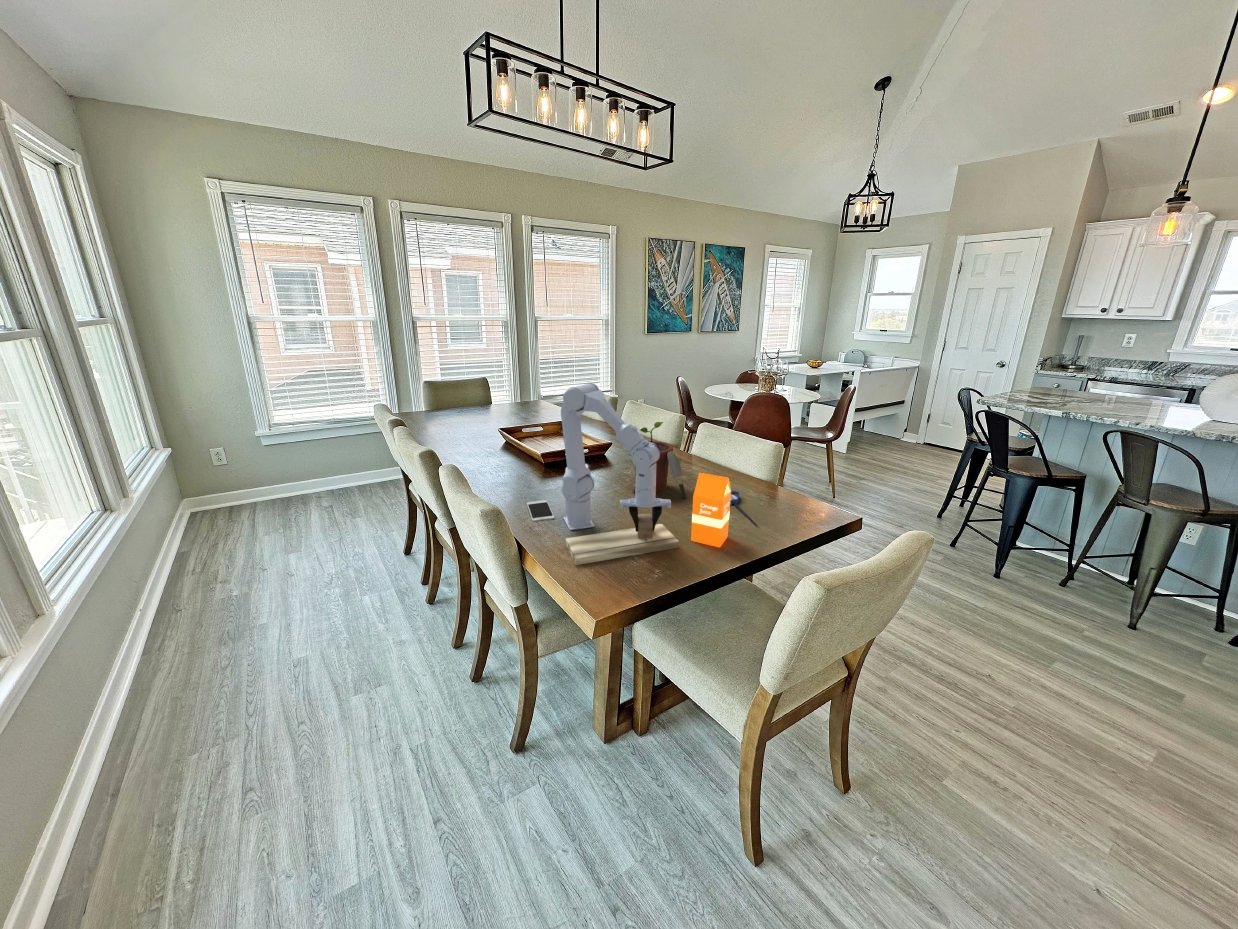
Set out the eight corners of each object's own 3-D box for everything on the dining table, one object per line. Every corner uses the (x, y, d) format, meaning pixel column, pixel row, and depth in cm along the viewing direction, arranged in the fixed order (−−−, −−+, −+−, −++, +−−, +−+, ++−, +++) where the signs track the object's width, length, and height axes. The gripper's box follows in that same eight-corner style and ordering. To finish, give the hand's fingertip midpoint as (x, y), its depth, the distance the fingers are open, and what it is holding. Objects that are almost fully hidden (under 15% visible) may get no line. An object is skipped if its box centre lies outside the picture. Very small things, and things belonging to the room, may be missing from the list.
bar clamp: (708, 490, 172) (734, 488, 174) (707, 496, 173) (733, 494, 175) (748, 533, 142) (779, 530, 144) (747, 540, 143) (778, 537, 145)
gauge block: (637, 529, 143) (637, 513, 141) (650, 529, 143) (651, 513, 141) (638, 541, 135) (638, 525, 134) (652, 541, 135) (653, 525, 134)
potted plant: (668, 478, 190) (671, 416, 182) (687, 498, 170) (690, 430, 162) (625, 481, 187) (625, 418, 179) (638, 502, 167) (639, 433, 158)
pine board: (565, 544, 138) (565, 538, 137) (661, 529, 147) (661, 523, 146) (575, 565, 127) (575, 558, 126) (678, 547, 136) (678, 541, 135)
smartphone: (547, 502, 168) (546, 499, 168) (554, 519, 154) (554, 517, 154) (526, 504, 166) (526, 502, 166) (532, 523, 152) (532, 520, 152)
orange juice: (719, 547, 136) (724, 482, 130) (690, 540, 140) (693, 476, 134) (728, 536, 142) (732, 473, 136) (699, 530, 147) (703, 468, 140)
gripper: (669, 481, 139) (668, 523, 143) (619, 481, 138) (619, 524, 143) (672, 490, 132) (670, 534, 136) (620, 490, 132) (620, 535, 136)
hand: (644, 530), depth 139 cm, fingers closed on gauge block, 4 cm apart
